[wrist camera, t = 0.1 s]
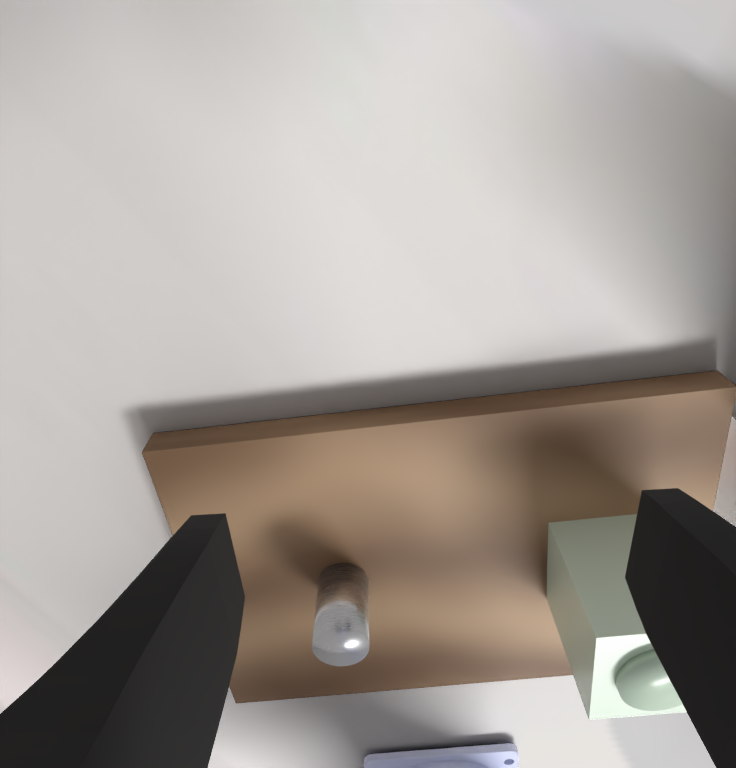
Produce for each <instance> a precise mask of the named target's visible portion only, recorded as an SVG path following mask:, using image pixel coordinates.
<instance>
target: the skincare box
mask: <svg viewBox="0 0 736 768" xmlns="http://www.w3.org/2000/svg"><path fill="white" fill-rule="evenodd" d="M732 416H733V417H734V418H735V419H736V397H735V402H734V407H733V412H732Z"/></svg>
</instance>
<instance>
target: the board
mask: <svg viewBox="0 0 736 768" xmlns="http://www.w3.org/2000/svg"><path fill="white" fill-rule="evenodd" d="M735 397H736V385H734V384H733V383H732V382H731V381H729V380H728V379H727V378H726V377H725V376H723V375H722V374H721V373H720V372H719V371H709V372H700V373H691V374H682V375H673V376H664V377H655V378H646V379H637V380H628V381H619V382H610V383H601V384H592V385H583V386H574V387H565V388H556V389H547V390H538V391H529V392H520V393H511V394H502V395H493V396H485V397H476V398H467V399H458V400H449V401H440V402H431V403H422V404H413V405H404V406H395V407H386V408H377V409H368V410H359V411H350V412H341V413H332V414H323V415H314V416H305V417H296V418H287V419H278V420H269V421H260V422H251V423H242V424H233V425H224V426H215V427H206V428H197V429H188V430H179V431H170V432H161V433H153V434H152V436H151V438H150V439H149V441H148V443H147V444H146V446H145V448H144V449H143V451H142V454H143V457H144V460H145V462H146V465H147V468H148V470H149V473H150V476H151V478H152V481H153V484H154V486H155V489H156V492H157V494H158V497H159V500H160V502H161V505H162V508H163V510H164V513H165V516H166V518H167V521H168V524H169V526H170V529H171V532H172V534H173V535H174V534H175V533H176V532H177V530H178V529H179V528H180V527H181V526H182V525H183V524H184V523H185V522H186V520H187V519H188V518H189V517H190V516H191V515H204V514H222V513H226V517H227V522H228V526H229V530H230V534H231V539H232V543H233V547H234V552H235V556H236V560H237V564H238V569H239V573H240V577H241V581H242V586H243V590H244V594H245V602H244V609H243V617H242V624H241V631H240V638H239V644H238V651H237V656H236V660H235V664H234V668H233V672H232V676H231V680H230V684H229V686H230V689H231V692H232V694H233V697H234V700H235V702H236V703H246V702H258V701H269V700H281V699H293V698H305V697H317V696H329V695H340V694H352V693H364V692H376V691H388V690H400V689H411V688H423V687H435V686H447V685H459V684H471V683H482V682H494V681H506V680H518V679H530V678H542V677H553V676H565V675H573V673H572V670H571V667H570V664H569V661H568V658H567V656H566V653H565V650H564V647H563V644H562V641H561V638H560V636H559V633H558V630H557V627H556V624H555V621H554V619H553V616H552V613H551V610H550V607H549V604H548V601H547V599H546V594H547V558H548V523H550V522H560V521H570V520H580V519H590V518H600V517H611V516H621V515H631V514H637V512H638V507H639V502H640V497H641V492H642V490H654V489H672V488H678V489H680V490H682V491H683V492H685V493H686V494H688V495H690V496H691V497H693V498H694V499H696V500H697V501H699V502H700V503H701V504H703V505H704V506H706V507H707V508H709V509H710V510H712V511H713V507H714V502H715V497H716V492H717V487H718V482H719V477H720V472H721V467H722V462H723V457H724V452H725V447H726V442H727V437H728V432H729V427H730V422H731V417H732V412H733V407H734V402H735ZM336 563H350V564H354V565H356V566H358V567H360V568H362V569H363V570H364V571H365V572H366V574H367V576H368V579H369V652H368V654H367V656H366V657H365V658H364V659H363V660H361V661H360V662H358V663H356V664H353V665H349V666H333V665H329V664H326V663H324V662H322V661H320V660H319V659H318V658H317V657H316V656H315V655H314V653H313V650H312V641H313V630H314V619H315V609H316V598H317V587H318V578H319V575H320V573H321V572H322V571H323V570H324V569H325V568H326V567H328V566H330V565H332V564H336Z"/></svg>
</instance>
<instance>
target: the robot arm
mask: <svg viewBox="0 0 736 768" xmlns="http://www.w3.org/2000/svg"><path fill="white" fill-rule="evenodd" d="M625 579H626V582H627V585H628V587H629V590H630V593H631V596H632V598H633V601H634V604H635V607H636V609H637V612H638V614H639V617H640V619H641V622H642V625H643V627H644V630H645V632H646V635H647V637H648V638H649V640H650V642H651V644H652V646H653V648H654V650H655V652H656V654H657V656H658V658H659V660H660V662H661V664H662V666H663V668H664V670H665V671H666V673H667V675H668V677H669V679H670V681H671V683H672V685H673V687H674V689H675V691H676V692H677V694H678V696H679V698H680V700H681V702H682V704H683V706H684V707H685V709H686V711H687V713H688V715H689V717H690V718H691V721H692V723H693V724H694V726H695V728H696V730H697V732H698V734H699V736H700V738H701V740H702V741H703V743H704V745H705V747H706V749H707V751H708V753H709V754H710V757H711V758H712V760H713V762H714V764H715V766H716V768H736V527H735V526H733V525H732V524H730V523H729V522H728V521H726V520H725V519H723V518H722V517H720V516H719V515H717V514H716V513H715V512H713V511H712V510H710V509H709V508H707V507H706V506H704V505H703V504H701V503H700V502H699V501H697V500H696V499H694V498H693V497H691V496H690V495H688V494H686V493H685V492H683V491H682V490H680V489H678V488H672V489H654V490H642V492H641V497H640V502H639V507H638V512H637V517H636V523H635V528H634V533H633V538H632V543H631V548H630V553H629V559H628V564H627V569H626V574H625ZM244 602H245V594H244V590H243V586H242V581H241V577H240V573H239V569H238V564H237V560H236V556H235V552H234V547H233V543H232V539H231V534H230V530H229V526H228V522H227V517H226V513H222V514H204V515H191V516H190V517H189V518H188V519H187V520H186V522H185V523H184V524H183V525H182V526H181V527H180V528H179V529H178V530H177V532H176V533H175V534H174V535H173V536H172V537H171V538H170V540H169V541H168V542H167V543H166V544H165V545H164V547H163V548H162V549H161V550H160V551H159V552H158V554H157V555H156V556H155V557H154V558H153V559H152V560H151V562H150V563H149V564H148V565H147V566H146V567H145V568H144V570H143V571H142V572H141V573H140V574H139V575H138V577H137V578H136V579H135V580H134V581H133V582H132V583H131V584H130V585H129V586H128V588H127V589H126V590H125V591H124V592H123V593H122V594H121V595H120V596H119V598H118V599H117V600H116V601H115V602H114V603H113V604H112V605H111V606H110V607H109V609H108V610H107V611H106V612H105V613H104V614H103V615H102V616H101V617H100V618H99V619H98V620H97V621H96V622H95V623H94V625H93V626H92V627H91V628H90V629H89V630H88V631H87V632H86V633H85V634H84V635H83V636H82V637H81V638H80V639H79V640H78V641H77V642H76V643H75V644H74V645H73V646H72V647H71V648H70V649H69V650H68V651H67V652H66V653H65V654H64V655H63V656H62V657H61V658H60V659H59V660H58V661H57V662H56V663H55V664H54V665H53V666H52V667H51V668H50V669H49V670H48V671H47V672H46V673H45V674H44V675H43V676H42V677H41V678H39V679H38V680H37V681H36V682H35V683H34V684H33V685H32V686H31V687H30V688H29V689H28V690H27V691H26V692H24V693H23V694H22V695H21V696H20V697H19V698H18V699H17V700H15V701H14V702H13V703H12V704H11V705H10V706H9V707H7V708H6V709H5V710H4V711H3V712H2V713H1V714H0V768H207V767H208V763H209V760H210V756H211V752H212V748H213V745H214V741H215V737H216V733H217V729H218V726H219V722H220V718H221V714H222V711H223V707H224V703H225V699H226V695H227V691H228V688H229V684H230V680H231V676H232V672H233V668H234V664H235V660H236V656H237V651H238V644H239V638H240V631H241V624H242V617H243V609H244ZM364 768H519V754H518V750H517V747H516V746H515V745H514V744H511V743H504V744H492V745H479V746H466V747H453V748H441V749H428V750H415V751H403V752H390V753H377V754H369V755H367V756H366V757H365V758H364Z"/></svg>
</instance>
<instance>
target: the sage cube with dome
mask: <svg viewBox="0 0 736 768" xmlns="http://www.w3.org/2000/svg"><path fill="white" fill-rule="evenodd" d="M636 517H637V514H631V515H621V516H611V517H600V518H590V519H580V520H570V521H560V522H550V523H548V558H547V594H546V599H547V601H548V604H549V607H550V610H551V613H552V616H553V619H554V621H555V624H556V627H557V630H558V633H559V636H560V638H561V641H562V644H563V647H564V650H565V653H566V656H567V658H568V661H569V664H570V667H571V670H572V673H573V676H574V678H575V681H576V684H577V687H578V690H579V693H580V696H581V698H582V701H583V704H584V707H585V710H586V713H587V716H588V718H589V720H595V719H607V718H618V717H619V718H620V717H632V716H643V715H657V714H669V713H681V712H687V711H686V709H685V707H684V706H683V704H682V702H681V700H680V698H679V696H678V694H677V692H676V691H675V689H674V687H673V685H672V683H671V681H670V679H669V677H668V675H667V673H666V671H665V670H664V668H663V666H662V664H661V662H660V660H659V658H658V656H657V654H656V652H655V650H654V648H653V646H652V644H651V642H650V640H649V638H648V637H647V635H646V632H645V630H644V627H643V625H642V622H641V619H640V617H639V614H638V612H637V609H636V607H635V604H634V601H633V598H632V596H631V593H630V590H629V587H628V585H627V582H626V579H625V574H626V569H627V564H628V559H629V553H630V548H631V543H632V538H633V533H634V528H635V523H636Z"/></svg>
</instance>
